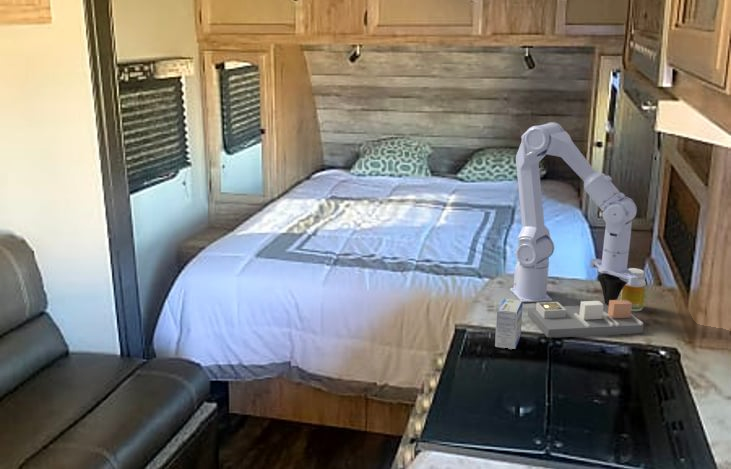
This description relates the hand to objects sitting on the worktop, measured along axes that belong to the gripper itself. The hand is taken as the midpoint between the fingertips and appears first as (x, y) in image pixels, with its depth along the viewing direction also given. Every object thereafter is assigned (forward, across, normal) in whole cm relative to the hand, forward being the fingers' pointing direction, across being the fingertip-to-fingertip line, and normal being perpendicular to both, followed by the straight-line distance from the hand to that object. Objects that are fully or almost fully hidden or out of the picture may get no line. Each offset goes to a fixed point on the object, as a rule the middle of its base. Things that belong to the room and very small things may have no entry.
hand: (610, 304), depth 176 cm
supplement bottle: (+3, -3, +9) cm, 10 cm away
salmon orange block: (+1, +5, -1) cm, 5 cm away
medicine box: (+3, +4, -31) cm, 31 cm away
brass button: (+1, -2, -15) cm, 15 cm away
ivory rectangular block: (+1, +3, -8) cm, 9 cm away
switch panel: (+3, +2, -9) cm, 9 cm away
